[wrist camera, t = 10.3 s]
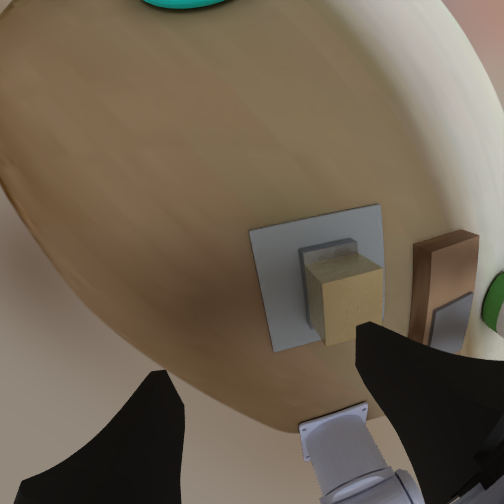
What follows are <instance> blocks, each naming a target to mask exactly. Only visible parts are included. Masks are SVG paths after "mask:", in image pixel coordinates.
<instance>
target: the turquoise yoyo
mask: <svg viewBox="0 0 504 504" xmlns="http://www.w3.org/2000/svg"><path fill="white" fill-rule="evenodd" d="M144 1H145V2H147V3H150V4H152V5H155V6H159V7H164V8H174V9H186V8H196V7H202V6H207V5H212V4H215V3H219V2H222V1H224V0H144Z"/></svg>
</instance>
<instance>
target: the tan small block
mask: <svg viewBox="0 0 504 504" xmlns="http://www.w3.org/2000/svg"><path fill="white" fill-rule="evenodd" d="M298 252H299V259H300V267H301V275H302V284H303V293H304V302H305V311H306V321H307V324H308V325H309V327H310V329H311V330H313V329H315V330H316V331H317V333H318V335H319V336H320V338H321V340H322V341H323V343H324V345H325V346H326V347H328V346H332V345H335V344H339V343H342V342H345V341H348V340H351V339H355V338H356V326H357V325H360V324H363V323H366V322H369V321H371V322H374V323H376V324H378V325H380V326H381V325H382V307H383V268H382V267H381V266H379V265H378V264H376V263H374V262H373V261H371V260H369V259H368V258H366V257H365V256H363V255H361V254H360V253H358V244H357V241H355V240H353V239H352V238H346V239H341V240H336V241H331V242H327V243H322V244H317V245H312V246H307V247H303V248H298Z"/></svg>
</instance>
